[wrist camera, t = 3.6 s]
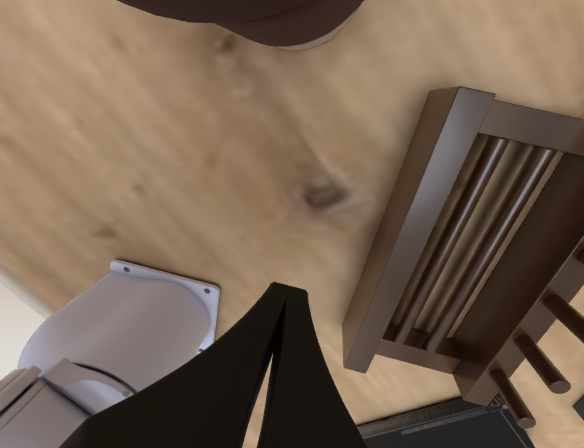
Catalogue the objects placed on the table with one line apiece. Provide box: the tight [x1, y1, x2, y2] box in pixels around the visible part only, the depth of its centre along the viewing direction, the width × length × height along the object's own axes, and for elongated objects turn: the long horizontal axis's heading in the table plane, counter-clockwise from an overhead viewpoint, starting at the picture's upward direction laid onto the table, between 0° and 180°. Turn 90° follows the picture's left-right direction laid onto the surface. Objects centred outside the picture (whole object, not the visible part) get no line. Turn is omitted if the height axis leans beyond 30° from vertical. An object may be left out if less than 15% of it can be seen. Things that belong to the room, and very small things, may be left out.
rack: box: [342, 86, 584, 428], centre depth 16 cm, size 10×18×7 cm, turn 168°
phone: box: [357, 392, 535, 448], centre depth 26 cm, size 8×1×15 cm
